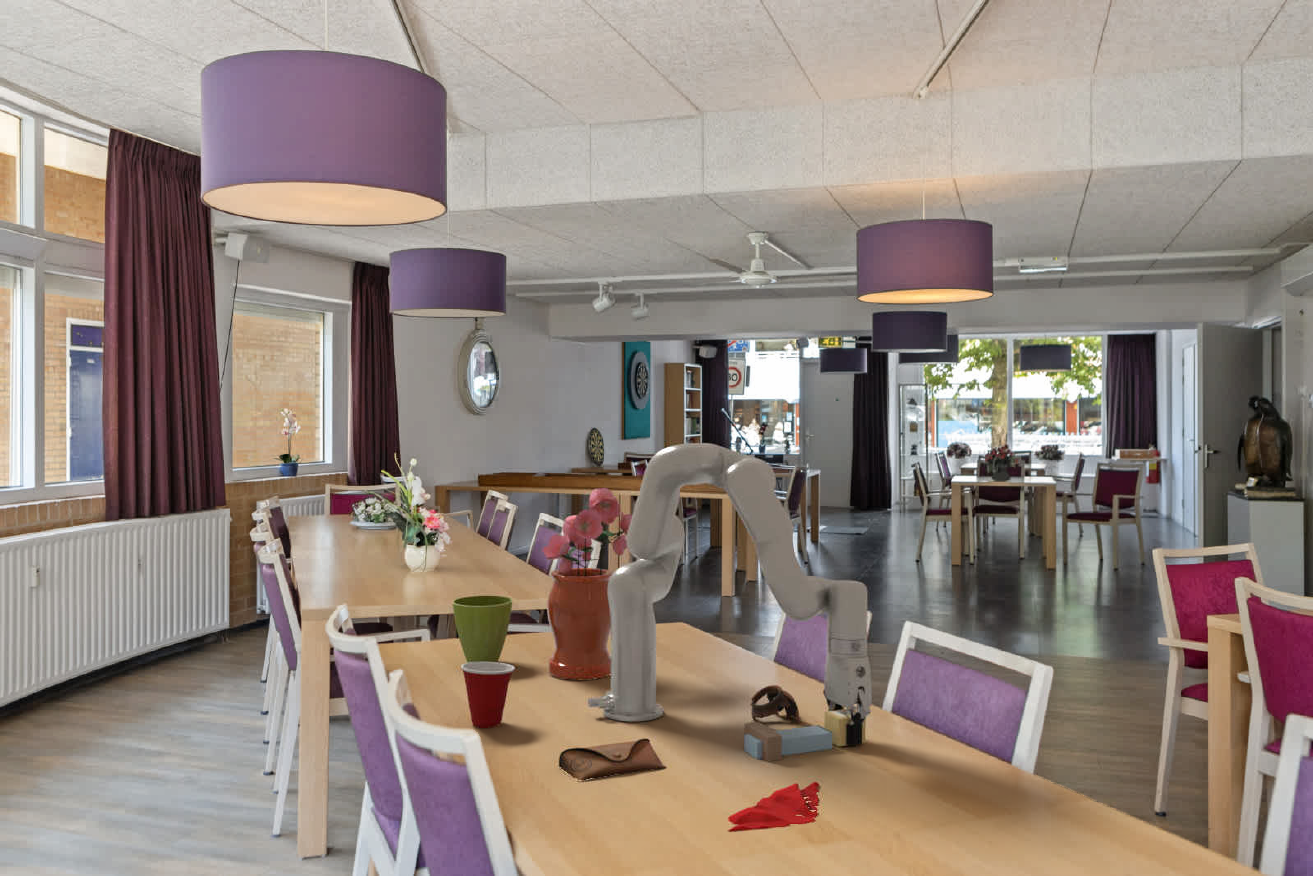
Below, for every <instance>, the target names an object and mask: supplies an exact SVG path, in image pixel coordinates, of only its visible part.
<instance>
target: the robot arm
mask: <svg viewBox="0 0 1313 876" xmlns="http://www.w3.org/2000/svg"><path fill="white" fill-rule="evenodd" d="M776 481H777V479H776V475H775V472H774V469H773V468H772V466H771V465H770V464H768V462H766V461H765V460H763V459H760V458H757V457H754V456H750V455H748V454H744V453H741V452H739V451H735V450H733V449H729V448H727V447H725V446H724V447H723V446H720V445H718V444H715V443H709V442H708V443H707V442H702V443H701V442H700V443H699V442H698V443H697V442H695V443H694V442H690V443H681V444H675V445H671V446H668V447H665V448H663V449H661V450H659V451H658V452H656V453H655V454H654V455H653V457H651V459H650V460H649V462H648V464H647V465H646V468H645V470H644V473H643V478H642V482H641V485H640V489H639V492H638V495H637V498H636V501H635V504H634V505H635V506H634V509H633V512H632V514H631V515H632V519H631V522H630V525H629V529H628V532H627V535H626V537H625V539H626V543H627V549H628V552H629V553H630V554H631V555H632V556H633V557H635V558H636V560H635V561H632V562H629V563H627V564H624V565H621V566H619V567H618V568H617V569H616V570H614V572H612V576H611V578H610V579H609V583H608V588H607V594H608V602H609V608H610V617H611V631H610V656H611V675H610V690H606V691H605V692H606V693H605V694H603V695H601V696H600V697H597V696H595V697H589V698H588V699H587V704H588V705H587V706H588V707H589V708H596V707H597V708H598V709H599V710H602V711H603V712H602V713H603V715H604V716H605V717H607V718H608V719H610V720H613V721H620V722H631V723H632V722H635V723H636V722H647V721H653V720H655V719H659V718H660V717H662V716H663V714H664V708H663V706H662V705H661V704H660V703H657V702H656V701H657V700H656V699H657V695H656V694H657V692H656V691H657V624H656V618H655V613H654V607H653V606H654V603H656V602H659V601H660V600H662V599H664V598H665V597H666V596H667V594H668V593H669V592H670V590H671V588H672V586H673V582H674V580H675V576H676V573H677V570H678V566H679V562H680V559H681V555H682V552H683V549H684V545H685V538H686V533H685V527H684V525H683V523H682V520H681V519H680V518H679V517H678V516H677V514H676V513H677V511H678V510H677V509H678V506H679V504H680V503H679V502H680V495H681V493H680V492H681V489H682V487H684V486H693V485H704V484H708V485H711V486H714V487H718V488H720V489H722V490H724V491H725V493H726V494H727V496H728V498H729V500H730V502H731V503H732V505H733V507H734V509H735V511H736V512H737V514H738V516H739V518H740V520H741V521H742V523H743V524H744V527H745V529H746V531H747V532H748V534H749V536H750V538H751V540H752V542H753V544H754V547H755V553H756V557H757V559H758V562H759V566H760V569H761V572H762V576H763V577H764V580H765V583H766V584H767V587H768V588H769V590H770V591H771V594H772V595H773V598H774V599H775V601H776V602H777V605H778V606H779V608H780V610H781V611H782V612H783V614H785V615H786V616H787V617H788V618H790V619H791V620H793V621H797V622H806V621H807V622H808V621H810V620H812V619H813V618H815V617H817V616H818V615H822V614H826V615H827V619H826V620H827V624H826V625H827V628H826V631H827V632H826V656H825V657H826V659H825V665H824V666H825V669H824V682H823V683H824V689H823V691H822V692H823V696H824V697H825V700H826V704H827V706H828V711H836V710H844V709H847V715H848V722H849V724H846V744H847V745H846V746H855V745H861V744H863V743H862V724H863V723H864V720H865V718H867V717H868V716H869V715H870V714H871V708H870V707H871V706H872V699H873V698H872V695H873V694H872V678H871V677H872V675H871V667H870V662H869V661H870V660H869V657H868V655H867V654H868V653H867V652H868V651H867V649H868V647H867V645H868V589H867V586H866V584H864V583H863V582H860V581H856V580H850V579H848V580H847V579H846V580H845V579H844V580H843V579H842V580H835V579H829V578H825V577H821V576H814V575H808V576H806V574H805V573H804V570H803V569H802V566H801V565H800V563H799V560H798V558H797V556H796V553H795V549H794V543H793V541H794V539H793V538H794V536H793V535H794V527H793V523H792V520H791V518H790V516H789V515H788V513H787V512H786V509H785V508H784V505H782V503H781V501H780V499H779V497H778V496H777V494H776V491H775V488H776V485H777V482H776ZM855 705H856V706H855ZM854 710H855V711H857V713H856V714H855V715H854V716H853V711H854Z"/></svg>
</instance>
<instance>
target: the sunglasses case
mask: <svg viewBox="0 0 1313 876" xmlns="http://www.w3.org/2000/svg"><path fill="white" fill-rule="evenodd" d="M558 767H561V769H563V770H564V771H566V772H567V773H568V774H570V775H571V776H572V777H573V778H577V779H578V780H586V779H590V778H596V779H600V778H599V777H602V778H605V777H604V776H608V777H611V776H610V775H614V776H616V775H615V774H620V775H626V774H625V773H627V774H632V772H633V773H637V772H638V771H640V772H645V770H646V771H652V770H651V769H654V770H661V769H666V768H667V766H665V765H664V764H663V762H661V760H660V757H659V755H658V754H657V753H656V751H655V750H654V747H653V746H652V745H651V743H650V739H649V738H641V739H637V740H633V741H624V742H616V743H608V744H601V745H600V744H599V745H595V746H594V745H593V746H588V747H571V748H567V749H564V750H563V751H562V752H561V753H560V754H559V758H558ZM561 769H560V770H561Z"/></svg>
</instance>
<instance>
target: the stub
mask: <svg viewBox="0 0 1313 876" xmlns="http://www.w3.org/2000/svg"><path fill="white" fill-rule="evenodd" d="M856 713H857V710H854V711H853V716H854V715H855V714H856ZM866 718H867V717H866ZM866 718H865V720H864V723H863V724H862V743H861V744H865V743H866V726H867V725H866V723H867V722H866V720H867V719H866ZM846 724H849V722H848V715H847V708H844V710H836V711H827V710H826V711H824V727H823V728H825V729H827V730H829V731H831V732H832V745H836V746H837V747H843V746H848V745H847V744H846Z"/></svg>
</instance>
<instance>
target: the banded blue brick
mask: <svg viewBox="0 0 1313 876" xmlns="http://www.w3.org/2000/svg"><path fill="white" fill-rule="evenodd" d="M743 729H744V733H743V734H744V735H743V739H744V741H743V742H744V744H743V745H744V746H743V748H744V750H743V751H745V753H747V754H748V755H750V756H751V757H753V758H755V759H757V760H758V759H759V760H761V759H763V760H764V761H765V762H775V761H782V758H783V757H782V756H788V755H789V756H790V755H795V754H804V753H811V752H819V751H825V750H826V751H827V750H832V749H833V743H832V732H831V731H829V730H827V729H825V728H824V727H823V726H821V725H819V724H817V725H813V726H803V727H796V728H795V727H794V728H788V729H787V728H786V729H778V730H773V729H772V728H769V727H768V726H766V725H764V724H763V723H761V722H759V721H754V722H748V723H744V728H743Z"/></svg>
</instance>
